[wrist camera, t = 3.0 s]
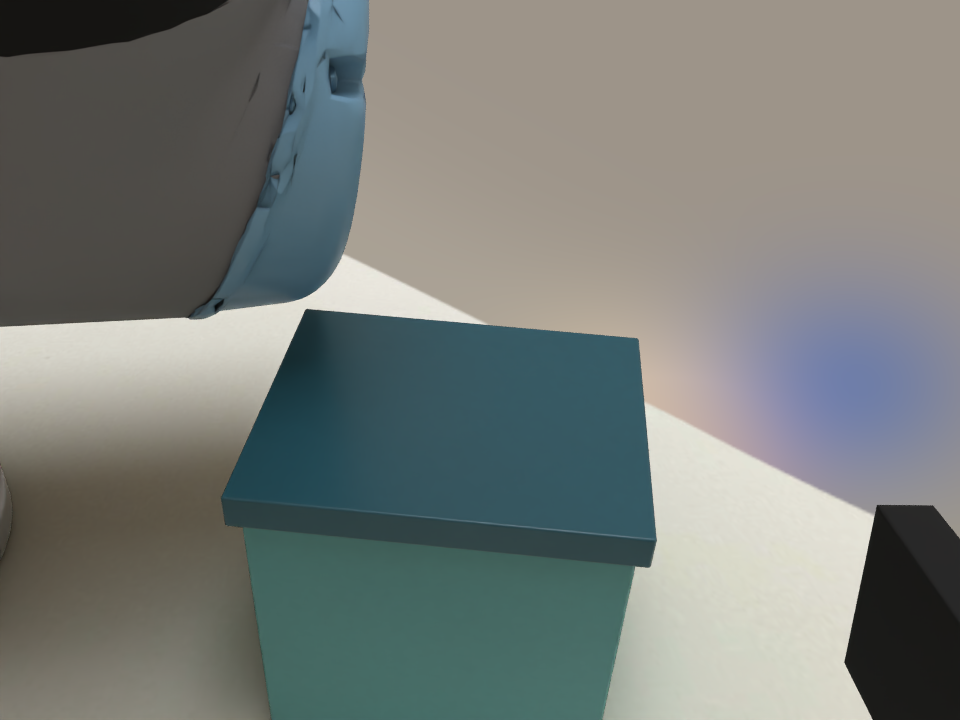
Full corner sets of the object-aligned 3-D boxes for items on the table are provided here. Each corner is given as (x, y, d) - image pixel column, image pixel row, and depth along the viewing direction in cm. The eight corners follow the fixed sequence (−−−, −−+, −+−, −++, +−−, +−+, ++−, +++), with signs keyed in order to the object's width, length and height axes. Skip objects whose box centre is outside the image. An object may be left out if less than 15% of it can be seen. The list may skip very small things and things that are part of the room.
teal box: (604, 770, 28) (657, 541, 22) (258, 732, 28) (219, 497, 22) (599, 555, 35) (638, 337, 29) (322, 528, 35) (305, 307, 29)
